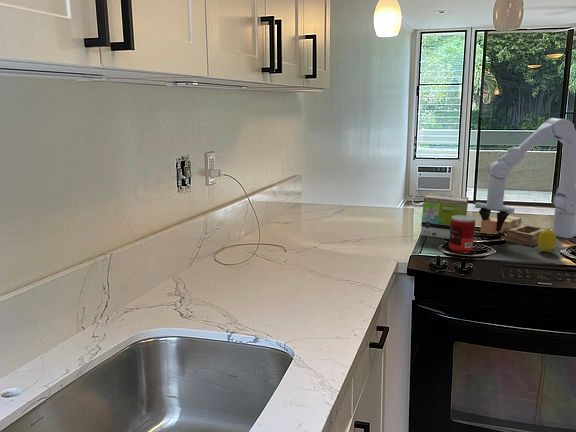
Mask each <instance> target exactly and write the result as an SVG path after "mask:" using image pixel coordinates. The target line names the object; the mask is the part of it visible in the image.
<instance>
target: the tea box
mask: <svg viewBox="0 0 576 432" xmlns="http://www.w3.org/2000/svg"><path fill="white" fill-rule="evenodd" d="M468 204H469V196H460V195H452V194H442V193H441V194H439V193H432V192H431V193H430V192H428V193H427V194H426V195H425V196H424V197H423V204H422V212H421V213H422V214H421V223H420V236H421V237H425V236H426V237H433V238H439V239H447V240H449V239H450V227H451V218H452V216H455V215H464V216H468V214H467V213H468Z"/></svg>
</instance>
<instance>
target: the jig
mask: <svg viewBox="0 0 576 432" xmlns="http://www.w3.org/2000/svg"><path fill="white" fill-rule="evenodd" d="M546 229H547V228H545V227H538V226H534V225H529V224H522V225H521V226H519V227H516V228H513V229H510V230H507V232H506V235H504V236H501V237H500V240H501V239H504V240H505V241H504V240H503V241H504V242H509V243H513V244H518V245H523V246H528V247H533V246H536V245H538V236H539V234H540V233H541V232H542V231H543V230H546Z"/></svg>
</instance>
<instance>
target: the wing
mask: <svg viewBox="0 0 576 432" xmlns="http://www.w3.org/2000/svg"><path fill="white" fill-rule="evenodd" d="M521 223H522V217H518V216H514V215H508V216H507V218H506V219H505V221H504V229H503V232H506V233H507V230H510V229H513V228H516V227H519V226H522V225H521Z"/></svg>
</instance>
